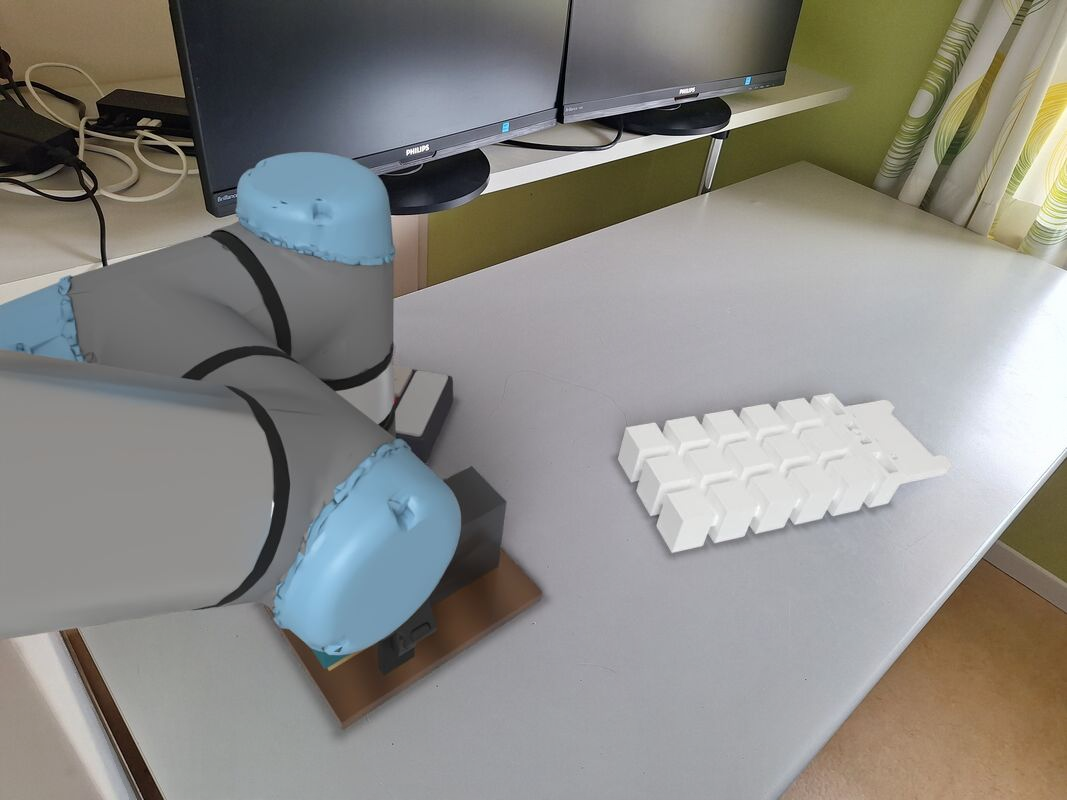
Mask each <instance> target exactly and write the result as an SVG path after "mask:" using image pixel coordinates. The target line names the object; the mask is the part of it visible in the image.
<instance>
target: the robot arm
mask: <svg viewBox="0 0 1067 800" xmlns="http://www.w3.org/2000/svg"><path fill="white" fill-rule="evenodd" d="M235 216H236V218H238V220H237V221H236V222H234V223H232V224H229V225H226V226H223V227H220V228H216V229H214V230H212V231H211V232H210V233H209V234H206V235H203V236H199V237H195V238H192V239H189V240H185V241H182V242H179V243H176V244H171V245H169V246H165V247H162V248H159V249H157V250H153V251H150V252H146V253H144V254H140V255H137V256H134V257H131V258H128V259H124V260H121V261H117V262H114V263H111V264H108V265H105V266H101V267H97V268H94V269H92V270H88V271H85V272H82V273H78V274H75V275H71V274H70V275H66V276H63V277H60V278H59V281H58V282H56V283H53V284H51V285H48V286H45V287H43V288H40V289H37V290H35V291H32V292H29V293H27V294H24V295H22V296H20V297H17V298H15V299H13V300H9V301H6V302H4V303H2V304H0V641H2V640H3V641H4V640H9V639H15V638H16V639H17V638H21V637H22V638H23V637H28V636H34V635H35V636H36V635H40V634H47V633H54V632H61V631H67V630H72V629H73V630H74V629H80V628H86V627H93V626H100V625H105V624H106V625H107V624H111V623H117V622H118V623H119V622H123V621H132V620H138V619H144V618H148V617H149V618H150V617H156V616H163V615H169V614H176V613H182V612H187V611H188V612H189V611H198V610H199V611H200V610H207V609H214V608H224V607H225V608H226V607H231V606H238V605H244V604H250V603H257V604H258V603H259V604H262V605H263V604H264V605H266V606H268V607H269V608H270V609H271V611H272V612H273V613H274V621H275V622H276V623H277V625H278V626H279V627H280V628H283V629H290V630H291V631H292V632H293V633H294V634H295V635H297V636H298V637H299V638H300V639H301V640H302V641H304V642H305V643H306V644H307V645H308V646H309V647H310V648H312V649H314V650H317V651H322V652H326V653H327V654H328V655H345V654H351V653H354V652H357V651H360V650H363V649H365V648H367V647H369V646H371V645H373V644H375V643H377V645H378V664H379V670H380V671H381V673H382V674H383V675H384V676H385V675H386V674H388V673H390V672H391V671H393V670H394V669H396V668H397V667H399V666H401V665H402V664H404V663H405V662H407V661H409V660H410V659H412V658H413V657H415V645H416V643H417V642H418V641H420V640H422V639H423V638H425V637H426V636H428V635H430V634H431V633H433V632H434V631H436V630H437V625H436V621H435V618H434V614H433V611H432V607H431V604H430V600H429V596H430V594H431V593H432V591H433V590H434V589H435V587H436V586H437V584H438V583H439V580H440V579H441V577H442V576H443V574H444V572H445V570H446V568H447V567H448V565H449V563H450V561H451V560H452V557H453V555H454V553H455V550H456V547H457V545H458V540H459V536H460V531H461V512H460V507H459V504H458V502H457V499H456V497H455V495H454V493H453V492H452V490H451V489H450V488H449V487H448V486H447V485H446V484H445V483H444V482H443V479H441V478H440V477H439V476H438V475H437V474H436V473H435V472H434V471H433V470H432V469H431V468H430V467H429V466H428V465H427V464H426V463H423V462H422V461H421V460H420V459H419V458H418V457H417V456H416V455H415V454H414V453H413V452H412V451H411V448H410V446H408V445H407V443H406V442H405V441H403V440H402V439H396V425H395V405H394V373H393V365H394V354H395V353H396V345H395V343H394V315H395V314H394V312H395V311H394V307H395V305H394V301H395V300H394V299H395V297H394V296H395V295H394V294H395V293H394V291H395V290H394V289H395V287H394V285H395V283H394V281H395V279H394V278H395V275H394V273H395V271H394V270H395V258H396V247H395V244H394V235H393V224H392V212H391V206H390V197H389V194H388V190H387V188H386V186H385V184H384V182H383V180H382V178H380V177H379V175H377V173H375V172H374V171H373V170H372V169H370V167H367V166H365V165H362V164H360V163H359V162H358V161H356V160H355V159H351V158H349V157H346V156H342V155H338V154H333V153H327V152H318V151H316V152H315V151H299V152H289V153H282V154H277V155H273V156H270V157H266V158H263V159H262V160H260V161H258V162H257V163H256V165H255V167H252V168H249V169H247V170H246V171H245V172H244V173H242V174H241V176H240V178H239V180H238V183H237V187H236V206H235ZM274 621H273V622H274Z"/></svg>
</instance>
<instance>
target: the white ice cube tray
mask: <svg viewBox="0 0 1067 800" xmlns="http://www.w3.org/2000/svg"><path fill="white" fill-rule="evenodd" d="M894 410H895V406H894V404H893V403H892V402H890V401H889V400H887V399H880V400H875V401H869V402H863V403H858V404H851V405H846V406H845V405H844V404H843V403H842V402H841V401H840V400H839V399H838V398H837V397H836V396H835V394H833V392H829V393H825V394H819V395H813V396H812V398H811V400H810V402H809V401H808V400H806V398H805V397H799V398H793V399H787V400H782V401H778V402H777V404H776V407H775V409H774V408H773V406H771V404H770V403H765V404H764V403H763V404H757V405H752V406H746V407H742V408H741V410H740V413H739V416H738V415H737V413H736V412H735V411H734V410H733V409H729V410H722V411H716V412H711V413H704V415H703V419H702V422H701V423H700V421H699V420H698V418H697V417H696V416H695V415H693V416H685V417H680V418H675V419H669V420H666V421H665V423H664V427H663V430H662V431H661V429H660V427H659V425H658V424H657V423H656V422H650V423H644V424H638V425H631V426H626V427H625V429H624V433H623V438H622V441H621V445H620V449H619V454H618V457H617V461H618V463H619V464H620V466H621V467H622V469H623V471H624V473H625V475H626V476H627V478H628V480H629V482H630V483H634V482H638V483H637V486H636V490H635V492H636V494H637V496H638V497H639V499H640V501H641V502H642V504H643V506H644V507H645V509H646V511H647V513H648V514H649V516H650V517H652V516H658V519H657V521H656V525H655V527H656V528H657V530H658V532H659V534H660V536H661V537H662V540H663V541H664V542H665V544H666V546H667V547H668V549H669V551H670V553H671V554H674V553H678V552H682V551H686V550H687V551H688V550H691V549H695V548H701V547H704V545H705V541H706V539H707V537H708V536H709V537H710V539H711V540H712V543H713V544H718V543H722V542H727V541H730V540H734V539H739V538H743V537H745V536H746V533H747V531H748V529H749V527H750V529H751V530H752V532H753V533H754V535H755V534H756V535H757V534H761V533H765V532H769V531H774V530H779V529H783V528H785V526H786V524H787V521H788V520H790V521H791V522H792V524H793V525H794V526H795V525H801V524H805V523H808V522H809V523H810V522H813V521H818V520H822V519H823V518H824V517H825V514H826V512H828V513H829V514H830V516H831V517H835V516H839V515H844V514H848V513H853V512H857V511H860V509H861V507H862V506H863V504H865V506H866V507H867V508H868V509H870V508H875V507H880V506H884V505H887V504H889V503H890V502H891V500H892V498H893V496H895V495H894V494H895V493H896V492H897V490H898V488H899V487H900V485H905V484H909V483H913V482H917V481H923V480H926V479H927V480H928V479H931V478H935V477H940V476H944V475H946V474H947V473H948V471H949V470H950V468H951V467H952V463H951V461H950V460H949V459H948V458H947V457H946V456H944V455H933V454H932V453H931V452H930V451H929V450H928V449H927V448H926V447H925V446H924V445H923V444H922V443H921V442H920V441H919V440H918V438H916V437H915V436H914V435H913V434H912V432H910V431H909V430H908V429H907V428H906V427H905V426H904V425H903V424H902V423H901V422H900V421H899V420H898V419H897V417H895V416H894V414H892V413H893V411H894Z"/></svg>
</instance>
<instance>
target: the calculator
mask: <svg viewBox="0 0 1067 800" xmlns="http://www.w3.org/2000/svg"><path fill="white" fill-rule="evenodd" d="M393 373H394V405H395V425H396V439H402V440H403V441H405V442H406V443H407V445H408V446H410V448H411V451H412V452H413V453H414V454H415V455H416V456H417V457H418V458H419V459H420V460H421V461H422V462H423V463H424V464H426V462H427V461H428V459H429V456H430V454H431V453H432V449H433V448H434V446H435V443H436V441H437V439H438V436H439V434H440V432H441V430H442V428H443V425H444V423H445V421H446V418H447V416H448V414H449V411H450V409H451V407H452V405H453V402H454V378H453V376H451V375H447V374H443V373H435V372H430V371H425V370H419V369H413V368H412V367H410V366H403V365H399V364H398V365H397V364H393Z"/></svg>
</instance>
